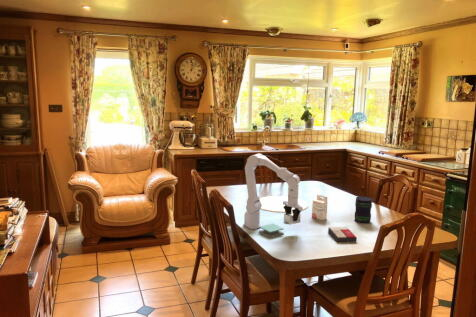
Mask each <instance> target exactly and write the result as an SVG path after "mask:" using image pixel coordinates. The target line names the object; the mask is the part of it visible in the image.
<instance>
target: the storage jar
mask: <svg viewBox="0 0 476 317" xmlns="http://www.w3.org/2000/svg"><path fill="white" fill-rule="evenodd" d="M372 202H373V198H371V197H368V196H356V197H355V203H354V205H355V211H354V220H353V221H354V222H356V223H357V224H361V225H362V224H364V225H367V224H370V223H371V219H372V206H373V203H372Z"/></svg>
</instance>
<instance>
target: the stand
mask: <svg viewBox="0 0 476 317" xmlns="http://www.w3.org/2000/svg"><path fill="white" fill-rule="evenodd" d="M258 229H261V230H259V231H258V233H259V234H261V235H263V236H265V237H268V238H275V237H278V236H283V235H284V234H285V233H284V232H283V231H284V229H285V228H284V227H282V226H279V225H278V224H275V223H269V224H265V225H261V226H259V228H258ZM282 230H283V231H282Z"/></svg>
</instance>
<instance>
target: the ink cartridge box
mask: <svg viewBox="0 0 476 317" xmlns="http://www.w3.org/2000/svg"><path fill="white" fill-rule="evenodd" d="M327 214H328V196H324V195H321V194H316V198H315V199H313V200H312V206H311V218H314V219H317V220H318V221H319V220H320V221H324V220H327V217H328V215H327Z"/></svg>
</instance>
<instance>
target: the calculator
mask: <svg viewBox="0 0 476 317" xmlns="http://www.w3.org/2000/svg"><path fill="white" fill-rule="evenodd" d="M327 234H328V235H329V236H330V237H331V238H332V239H333V240H334V241H335V242H336V243H341V244H343V243H357V242H358V240H357V238H358V237H357V236H356V235H355V234H354V233H353V232H352V230H351V229H349V228H348V227H347V226H331V227H328V231H327Z"/></svg>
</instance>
